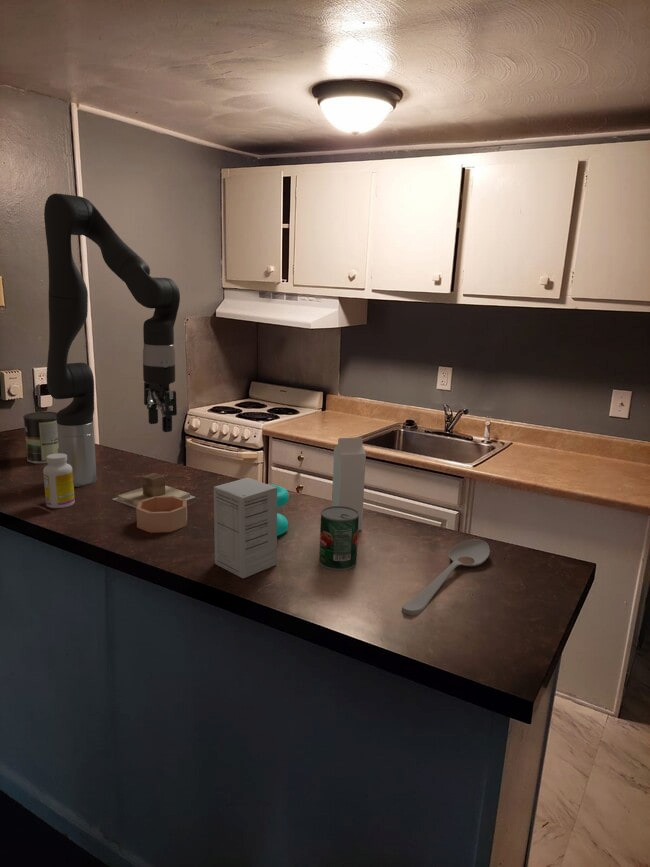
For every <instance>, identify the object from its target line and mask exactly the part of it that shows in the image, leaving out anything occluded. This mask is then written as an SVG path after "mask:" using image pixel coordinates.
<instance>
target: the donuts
mask: <svg viewBox="0 0 650 867" xmlns="http://www.w3.org/2000/svg"><path fill="white" fill-rule="evenodd" d="M270 485H271V486H273V487H276V488H277V509H278V508H281V507H283V506H285V505H286V504H287V503H288V501H289V500H290V499H289V498H290V494H289V492H288V490H287V489H286V488H284V487H282V486H279V485H276V484H270ZM288 528H289V521H288V519H287V517H285V515H283V514H281V513H278V512H277V537H278V536H281V535H283V534H284V533H286V532H287V530H288Z"/></svg>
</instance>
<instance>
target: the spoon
mask: <svg viewBox="0 0 650 867" xmlns="http://www.w3.org/2000/svg"><path fill="white" fill-rule="evenodd" d="M490 553H491V552H490V546H489V544H488V543H487V542H486V541H484V540H483V539H477V538H475V539H474V538H473V539H472V538H471V539H467V540H463V541H461V542H459V543H457V544H455V545H454V546H453V547H452V548H451V549H450V550H449V551H448V558H449V559H450V560H451V561H452V562H451V564H450V565H449V566H448V567H447V568H445V569H444V570H443V571H442V572H441V573H440V574H439V575H438V576H437V577H436V578H434V580H432V581H431V582H430V583H429V584H428V585H427V586H426V587H425V588H424V589H423V590H422V591H420V592H419V593H418V594H417V595H416V596H414V597H413V598H412V599H410V600H409V601H407V602H406V603H404V604H403V606H402V608H401V612H402V613H403V614H405V615H406V616H409V617H410V616H412V617H413V616H417V615H418V614H420V613H422V612H424V610H426V608H427V607H428V605H429V603H430V602H431V600H432V598H433V597H434V596H435V595H436V594H437V592H438V591H439V590H440V588H441V587H442V586H443V584H444V583H445V582H446V580H447V579H448V578H449V576H450V575H451V574H452V572H454V570H455V569H457V567H459V566H464V567H471V568H472V567H477V566H480V565H483V563H484V562H486V561H487V559H488V558H489V555H490ZM463 557H465V558H466V557H467V558H470V559H473V561H474V562H473V563H470V564H468V563H463V562H461V561H460V560H459V559H460V558H463Z"/></svg>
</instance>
